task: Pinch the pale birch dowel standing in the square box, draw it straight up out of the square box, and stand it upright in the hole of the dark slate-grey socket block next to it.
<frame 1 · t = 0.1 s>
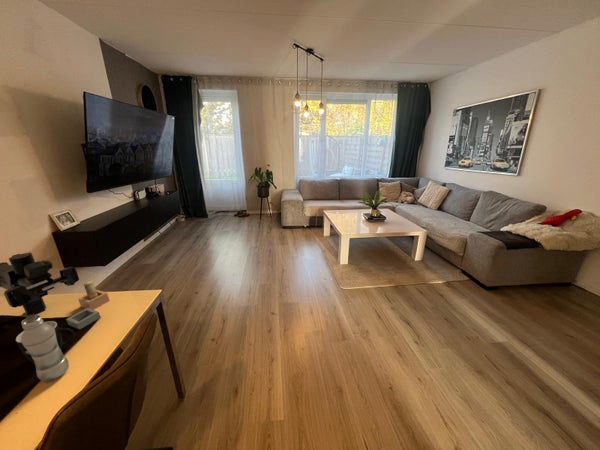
hand: (57, 290, 84), 17 cm above the table, tool horizontal, fingers open, 9 cm apart
mug: (55, 354, 78), on the table
dowel: (95, 303, 102), point 1 cm above the table, touching square box
plastic bottle: (56, 375, 71), on the table
square box: (96, 305, 102), on the table
socket block: (85, 322, 92), on the table
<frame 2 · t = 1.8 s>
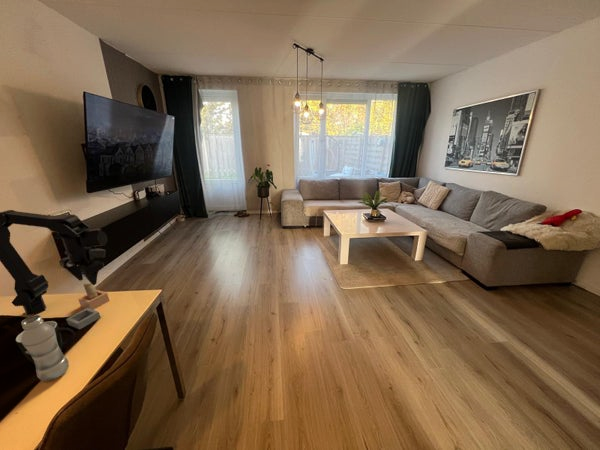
hand: (87, 282, 98), 12 cm above the table, tool pointing down, fingers open, 9 cm apart
nothing on the table moved.
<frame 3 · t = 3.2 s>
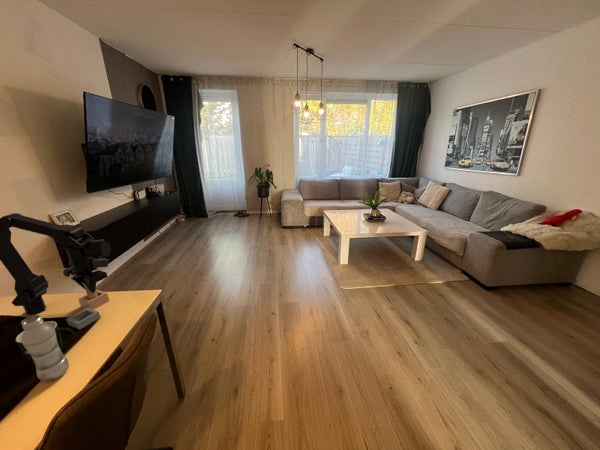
hand: (91, 291, 100), 7 cm above the table, tool pointing down, fingers closed on dowel, 3 cm apart
dowel: (95, 303, 102), point 1 cm above the table, touching square box, gripper
everything else where it was.
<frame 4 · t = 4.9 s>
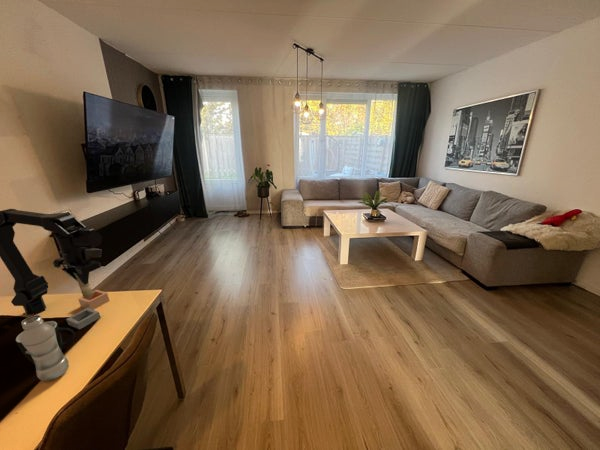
hand: (83, 283, 95), 13 cm above the table, tool pointing down, fingers closed on dowel, 3 cm apart
dowel: (88, 296, 96), point 7 cm above the table, touching gripper
everything else where it was.
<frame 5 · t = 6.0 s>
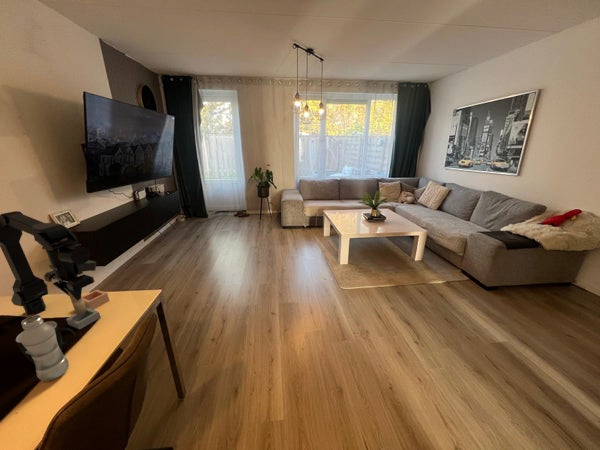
hand: (76, 298, 88), 11 cm above the table, tool pointing down, fingers closed on dowel, 3 cm apart
dowel: (81, 311, 90), point 5 cm above the table, touching gripper
everything else where it was.
when the fingers open (7 cm above the table, at t = 7.0 s): dowel stays where it is, resting on socket block.
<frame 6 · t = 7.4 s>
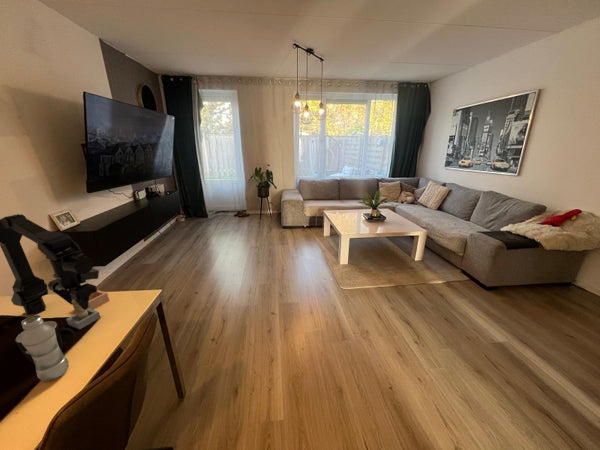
hand: (79, 306, 90), 7 cm above the table, tool pointing down, fingers open, 8 cm apart
dowel: (85, 321, 92), point 1 cm above the table, touching socket block
everything else where it was.
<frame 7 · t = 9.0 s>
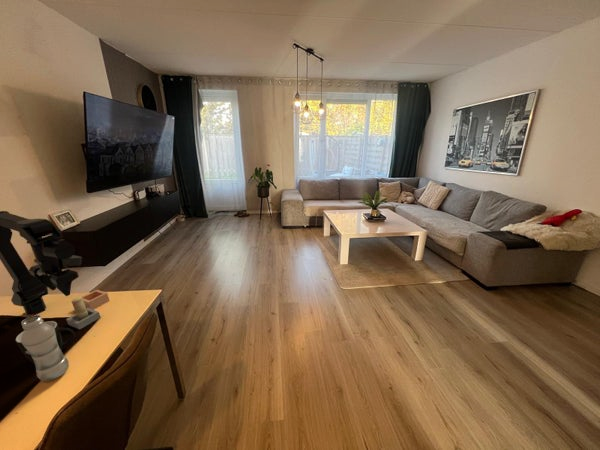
hand: (60, 292, 90), 12 cm above the table, tool pointing down, fingers open, 9 cm apart
nothing on the table moved.
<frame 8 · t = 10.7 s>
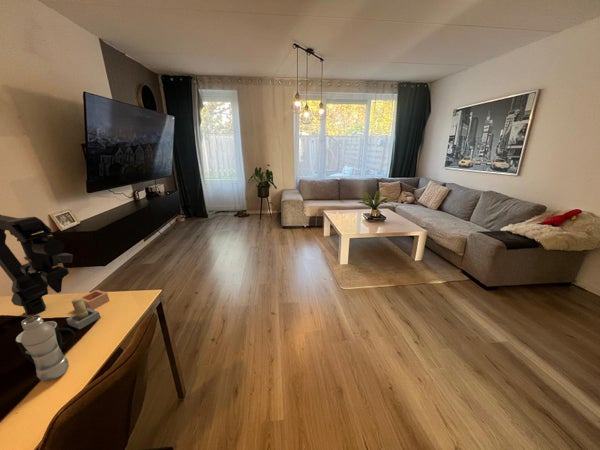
hand: (52, 289, 91), 13 cm above the table, tool pointing down, fingers open, 9 cm apart
nothing on the table moved.
at the end: dowel 0.1 cm off-centre on the socket block, point 0.5 cm above the socket block's base; dowel tilted 1°; the gripper is holding nothing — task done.
